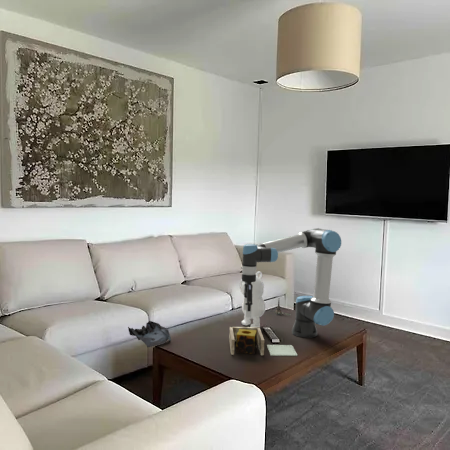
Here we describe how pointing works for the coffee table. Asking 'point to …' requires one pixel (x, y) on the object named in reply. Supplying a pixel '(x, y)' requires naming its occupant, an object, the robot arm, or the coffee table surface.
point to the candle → (246, 341)
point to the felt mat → (281, 350)
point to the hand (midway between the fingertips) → (247, 313)
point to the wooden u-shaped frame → (235, 330)
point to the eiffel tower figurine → (279, 311)
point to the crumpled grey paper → (151, 334)
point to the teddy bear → (254, 301)
